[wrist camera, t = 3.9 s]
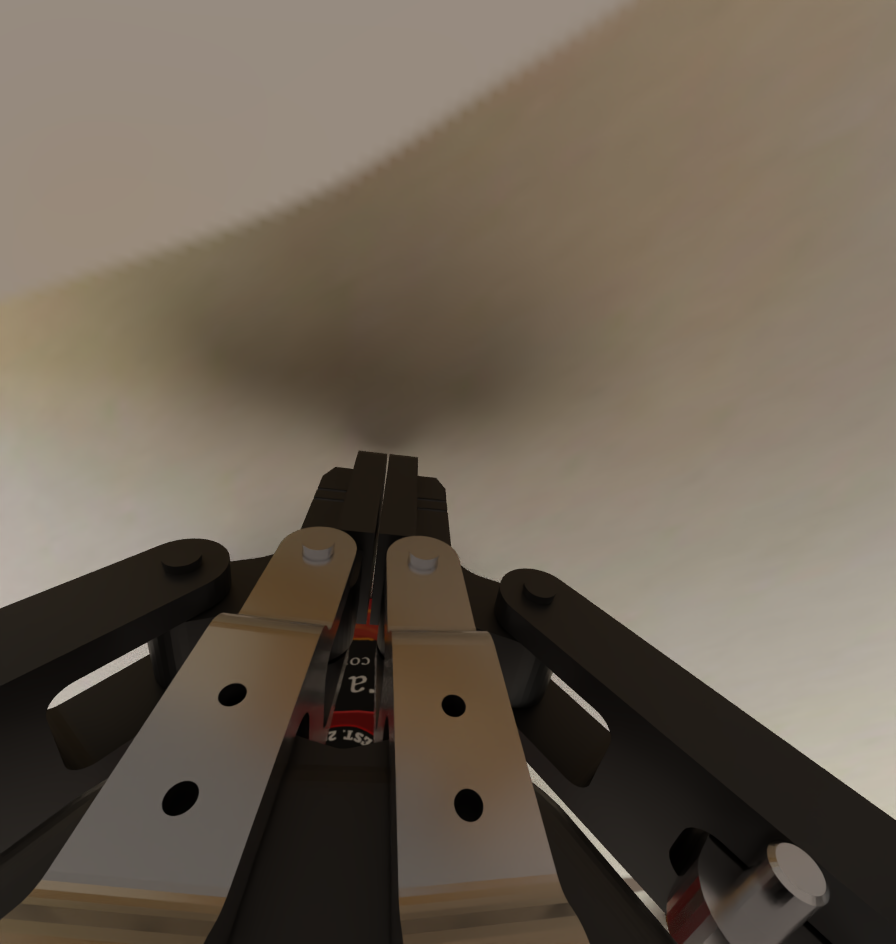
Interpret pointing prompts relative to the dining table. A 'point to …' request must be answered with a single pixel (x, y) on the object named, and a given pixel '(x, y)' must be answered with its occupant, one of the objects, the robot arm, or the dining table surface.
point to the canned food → (356, 692)
